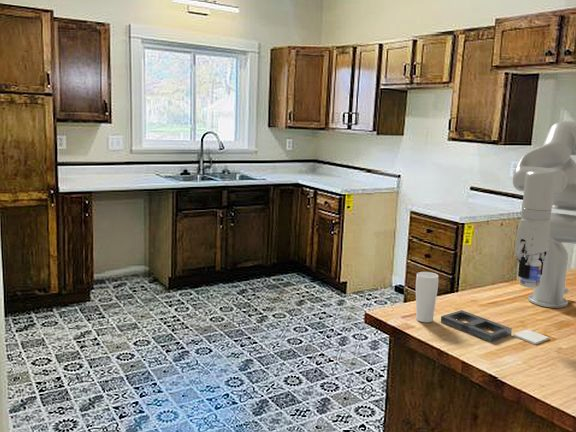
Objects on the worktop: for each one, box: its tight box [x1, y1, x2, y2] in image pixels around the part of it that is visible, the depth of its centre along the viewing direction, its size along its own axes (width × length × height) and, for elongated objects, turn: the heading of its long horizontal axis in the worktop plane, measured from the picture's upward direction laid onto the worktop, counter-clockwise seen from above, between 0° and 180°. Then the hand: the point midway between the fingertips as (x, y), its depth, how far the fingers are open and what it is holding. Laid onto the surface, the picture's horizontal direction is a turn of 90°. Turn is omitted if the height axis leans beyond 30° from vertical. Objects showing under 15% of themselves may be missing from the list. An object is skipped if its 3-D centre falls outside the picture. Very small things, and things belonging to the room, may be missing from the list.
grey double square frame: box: [440, 309, 513, 343], centre depth 165 cm, size 10×18×2 cm, turn 35°
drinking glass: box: [415, 271, 439, 323], centre depth 170 cm, size 7×7×15 cm
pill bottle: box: [518, 251, 541, 289], centre depth 156 cm, size 5×5×10 cm
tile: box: [512, 329, 550, 346], centre depth 159 cm, size 7×7×1 cm
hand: (530, 275), depth 156 cm, fingers closed on pill bottle, 5 cm apart
